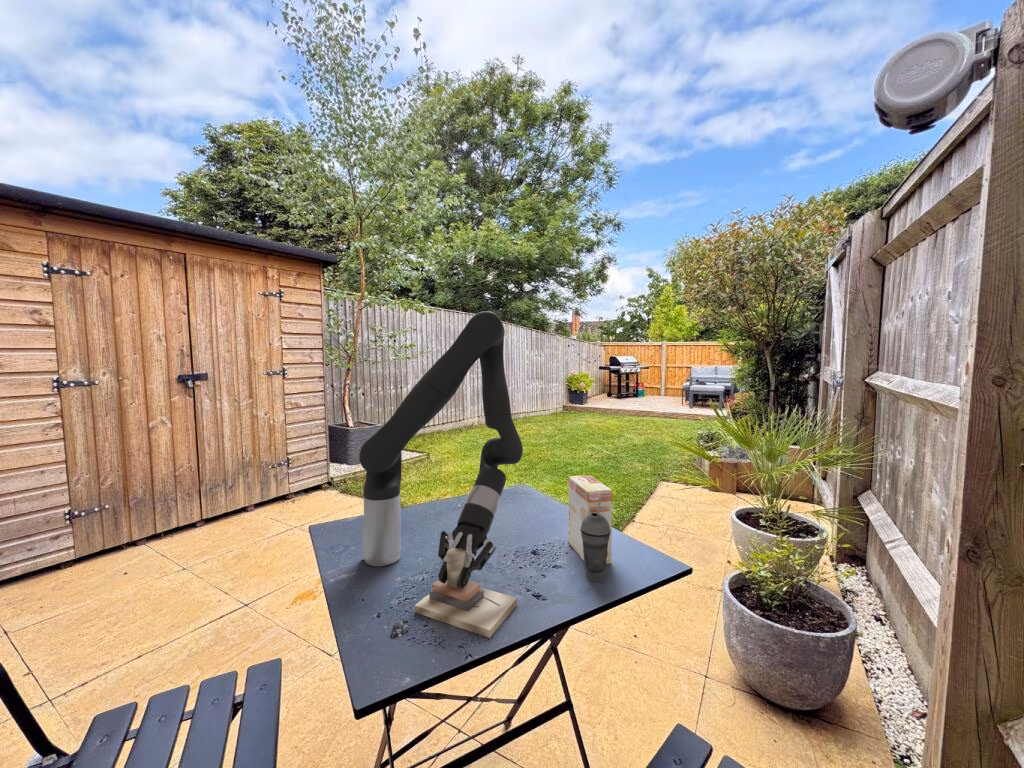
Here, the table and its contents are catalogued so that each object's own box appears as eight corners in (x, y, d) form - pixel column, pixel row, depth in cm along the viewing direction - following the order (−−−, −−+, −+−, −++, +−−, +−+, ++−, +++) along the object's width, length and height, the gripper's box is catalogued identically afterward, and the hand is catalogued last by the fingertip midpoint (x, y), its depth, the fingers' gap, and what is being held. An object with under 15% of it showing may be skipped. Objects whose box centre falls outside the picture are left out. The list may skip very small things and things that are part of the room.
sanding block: (429, 598, 89) (428, 553, 89) (446, 584, 95) (445, 542, 94) (468, 611, 85) (467, 563, 84) (483, 596, 90) (483, 551, 89)
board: (414, 612, 87) (414, 605, 87) (448, 584, 98) (448, 578, 98) (489, 637, 79) (489, 630, 79) (517, 604, 90) (517, 597, 90)
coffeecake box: (612, 563, 108) (613, 490, 107) (586, 566, 106) (587, 491, 105) (590, 539, 122) (591, 474, 121) (567, 541, 121) (567, 475, 120)
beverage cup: (588, 566, 107) (589, 489, 105) (615, 575, 102) (616, 495, 101) (574, 577, 101) (574, 496, 100) (601, 587, 96) (602, 503, 95)
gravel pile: (373, 645, 78) (373, 636, 78) (389, 615, 86) (389, 607, 86) (408, 647, 78) (408, 638, 78) (421, 618, 86) (421, 609, 85)
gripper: (448, 497, 98) (415, 570, 88) (501, 506, 92) (472, 586, 82) (460, 511, 103) (431, 582, 93) (511, 521, 97) (486, 598, 87)
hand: (450, 584), depth 88 cm, fingers closed on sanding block, 4 cm apart
